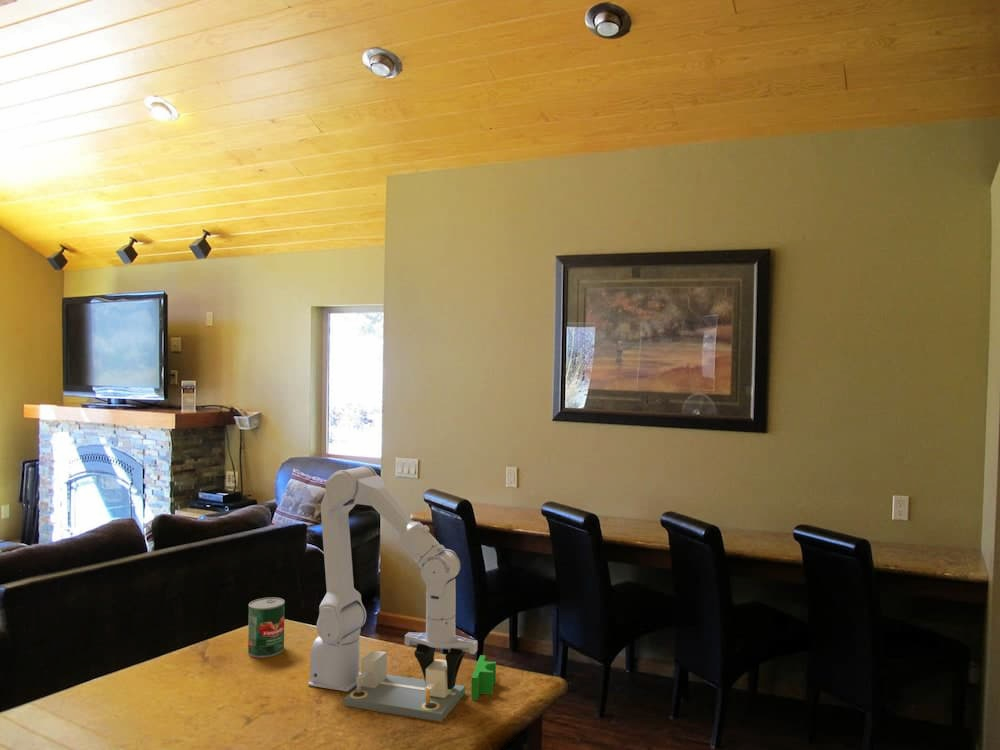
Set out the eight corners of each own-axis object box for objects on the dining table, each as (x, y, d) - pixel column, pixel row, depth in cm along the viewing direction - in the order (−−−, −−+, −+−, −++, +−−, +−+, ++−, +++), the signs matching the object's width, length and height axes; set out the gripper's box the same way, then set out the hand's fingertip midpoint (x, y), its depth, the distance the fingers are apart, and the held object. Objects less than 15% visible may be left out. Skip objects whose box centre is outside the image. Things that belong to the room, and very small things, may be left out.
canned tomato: (271, 659, 151) (272, 609, 151) (240, 655, 153) (241, 606, 153) (290, 645, 158) (291, 598, 159) (260, 642, 160) (261, 596, 160)
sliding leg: (416, 704, 126) (417, 677, 126) (435, 684, 135) (436, 658, 135) (436, 707, 125) (437, 680, 125) (454, 687, 133) (454, 661, 133)
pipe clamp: (490, 702, 131) (490, 678, 131) (471, 701, 132) (471, 677, 132) (497, 677, 142) (497, 655, 142) (480, 676, 143) (480, 654, 143)
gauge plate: (344, 705, 129) (344, 670, 129) (374, 679, 140) (374, 647, 140) (441, 722, 123) (441, 684, 123) (464, 693, 134) (465, 659, 134)
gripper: (482, 612, 133) (482, 682, 133) (415, 605, 138) (415, 672, 138) (470, 624, 127) (470, 697, 126) (400, 616, 131) (399, 687, 131)
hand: (440, 685), depth 132 cm, fingers closed on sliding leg, 4 cm apart
